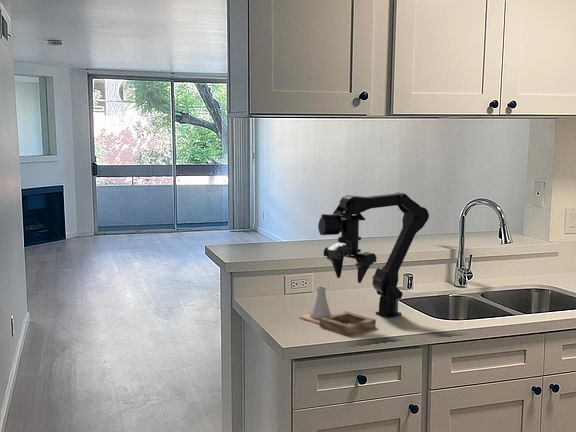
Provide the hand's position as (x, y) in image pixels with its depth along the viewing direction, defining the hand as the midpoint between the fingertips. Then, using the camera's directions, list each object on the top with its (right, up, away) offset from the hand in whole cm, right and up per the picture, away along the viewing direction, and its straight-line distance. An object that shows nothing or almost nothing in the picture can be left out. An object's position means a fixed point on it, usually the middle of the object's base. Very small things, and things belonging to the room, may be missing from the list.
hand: (348, 280), depth 203 cm
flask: (-9, -13, +1) cm, 16 cm away
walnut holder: (-1, -14, -7) cm, 16 cm away
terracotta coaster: (-9, -13, +1) cm, 16 cm away
